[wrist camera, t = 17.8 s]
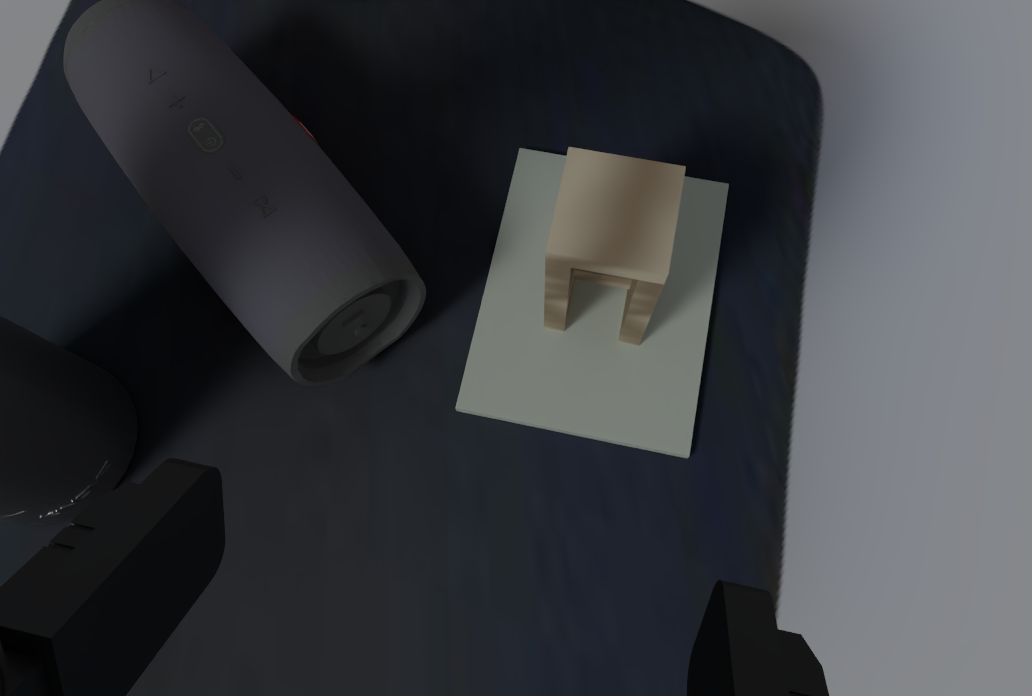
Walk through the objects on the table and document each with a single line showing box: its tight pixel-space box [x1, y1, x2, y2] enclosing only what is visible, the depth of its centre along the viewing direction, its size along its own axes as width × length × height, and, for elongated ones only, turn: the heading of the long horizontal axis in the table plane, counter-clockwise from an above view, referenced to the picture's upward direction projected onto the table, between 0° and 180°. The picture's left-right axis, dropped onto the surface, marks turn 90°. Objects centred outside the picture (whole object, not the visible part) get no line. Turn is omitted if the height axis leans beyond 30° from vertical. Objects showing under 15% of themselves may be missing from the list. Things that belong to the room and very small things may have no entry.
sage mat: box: [456, 148, 729, 458], centre depth 44 cm, size 13×17×1 cm
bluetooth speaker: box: [63, 0, 426, 387], centre depth 41 cm, size 23×9×10 cm, turn 40°
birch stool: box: [544, 147, 686, 346], centre depth 39 cm, size 6×6×10 cm
